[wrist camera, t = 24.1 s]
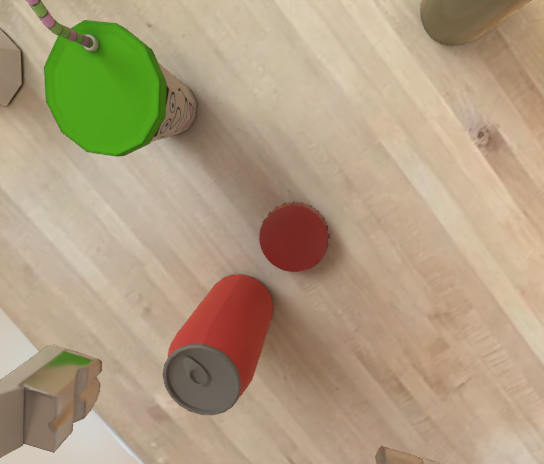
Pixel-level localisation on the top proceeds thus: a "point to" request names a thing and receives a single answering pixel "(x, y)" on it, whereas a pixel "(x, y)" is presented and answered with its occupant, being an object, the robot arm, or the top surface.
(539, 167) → the top surface
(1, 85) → the flask
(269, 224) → the lid
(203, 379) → the beer can
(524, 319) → the top surface
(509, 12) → the jar
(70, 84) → the cup
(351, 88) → the top surface
